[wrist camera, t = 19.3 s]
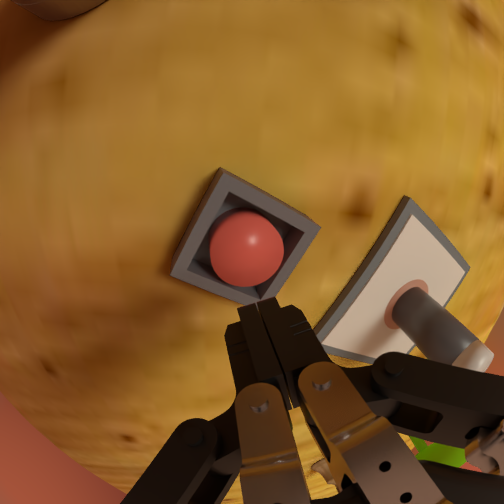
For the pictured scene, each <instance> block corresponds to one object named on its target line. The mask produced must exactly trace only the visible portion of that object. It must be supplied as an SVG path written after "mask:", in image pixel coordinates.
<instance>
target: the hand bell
mask: <svg viewBox="0 0 504 504" xmlns="http://www.w3.org/2000/svg"><path fill="white" fill-rule="evenodd" d="M311 469H312V470H314V471H317V472H319V473H320V474H321V475H322V476H323V477H324V479H325V480H326V482H327V484H334V485H335V486H336V489H337V490H338V493H340V490H339V488H338V486H337V484H336V483H335V481H334V479H333V477H332V475H331V472H330V470H329V467H328V465H327V463H326V461H325V459H322V460H320V461H318V462H317V463H315V464H314V465H312V467H311Z"/></svg>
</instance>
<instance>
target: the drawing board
mask: <svg viewBox="0 0 504 504" xmlns="http://www.w3.org/2000/svg"><path fill="white" fill-rule="evenodd" d="M469 269H470V266H469V265H468V264H467V262H466V261H465V260H464V258H463V257H462V256H461V255H460V253H459V252H458V251H457V250H456V248H455V247H454V246H453V245H452V243H451V242H450V241H449V240H448V239H447V237H446V236H445V235H444V234H443V233H442V232H441V230H440V229H439V228H438V227H437V226H436V225H435V224H434V222H433V221H432V220H431V219H430V218H429V217H428V216H427V215H426V214H425V213H424V211H423V210H422V209H421V208H420V207H419V206H418V205H417V204H416V203H415V202H414V201H413V200H412V199H411V198H410V197H407V196H405V195H404V197H403V199H402V201H401V202H400V204H399V206H398V207H397V209H396V211H395V212H394V214H393V216H392V217H391V219H390V221H389V222H388V224H387V226H386V227H385V229H384V231H383V232H382V234H381V235H380V237H379V238H378V240H377V242H376V243H375V245H374V246H373V248H372V249H371V251H370V252H369V254H368V255H367V257H366V258H365V260H364V261H363V263H362V264H361V266H360V267H359V269H358V270H357V272H356V273H355V275H354V276H353V277H352V279H351V280H350V282H349V283H348V284H347V286H346V287H345V289H344V290H343V291H342V293H341V294H340V296H339V297H338V298H337V300H336V301H335V302H334V304H333V305H332V306H331V308H330V309H329V310H328V312H327V313H326V314H325V316H324V317H323V318H322V319H321V321H320V322H319V323H318V325H317V326H316V327H315V328H314V330H313V331H314V333H315V334H316V336H317V338H318V340H319V341H320V343H321V345H322V346H323V348H324V350H325V352H326V353H328V354H332V355H336V356H340V357H344V358H348V359H352V360H357V361H361V362H365V363H370V364H373V362H374V361H375V360H376V358H377V357H379V356H380V355H382V354H384V353H387V352H393V351H395V352H401V353H405V354H409V353H410V352H411V350H412V349H413V348H414V347H415V346H416V345H415V344H414V343H413V342H412V341H411V340H410V339H409V337H408V336H407V335H406V334H405V333H404V332H403V331H402V330H401V329H400V328H399V327H398V326H397V324H396V323H395V322H394V321H393V320H392V310H393V308H394V305H395V303H396V302H397V300H398V299H399V298H400V296H401V295H402V294H403V293H404V292H406V291H407V290H409V289H410V288H413V287H420V288H421V289H422V290H424V291H425V292H426V293H427V294H428V295H430V296H431V297H432V298H433V299H434V300H435V301H437V302H438V303H439V304H440V305H441V306H442V307H444V308H445V306H446V305H447V304H448V302H449V301H450V299H451V298H452V296H453V295H454V293H455V292H456V290H457V289H458V287H459V285H460V284H461V282H462V281H463V279H464V277H465V276H466V274H467V273H468V271H469Z"/></svg>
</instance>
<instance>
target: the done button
mask: <svg viewBox="0 0 504 504" xmlns="http://www.w3.org/2000/svg"><path fill="white" fill-rule="evenodd" d="M208 242H209V250H210V258H211V263H212V267H213V269H214V271H215V272H216V274H217V275H218V276H219V277H220V278H221V279H222V280H224V281H225V282H227V283H229V284H231V285H234V286H240V287H249V286H254V285H258V284H260V283H262V282H264V281H266V280H267V279H269V278H270V277H271V276H272V275H273V274H274V273H275V272H276V271H277V270H278V268H279V266H280V264H281V262H282V259H283V254H284V246H283V241H282V238H281V236H280V234H279V233H278V231H277V230H276V229H275V228H274V226H273V225H272V224H271V223H270V221H269V220H268V219H267V218H266V217H265V216H264V215H263V214H262V213H260V212H259V211H257V210H255V209H252V208H247V207H239V208H234V209H230V210H228V211H226V212H224V213H223V214H221V215H220V216H219V217H218V218H217V219H216V220H215V221H214V223H213V225H212V226H211V229H210V232H209V237H208Z"/></svg>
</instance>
